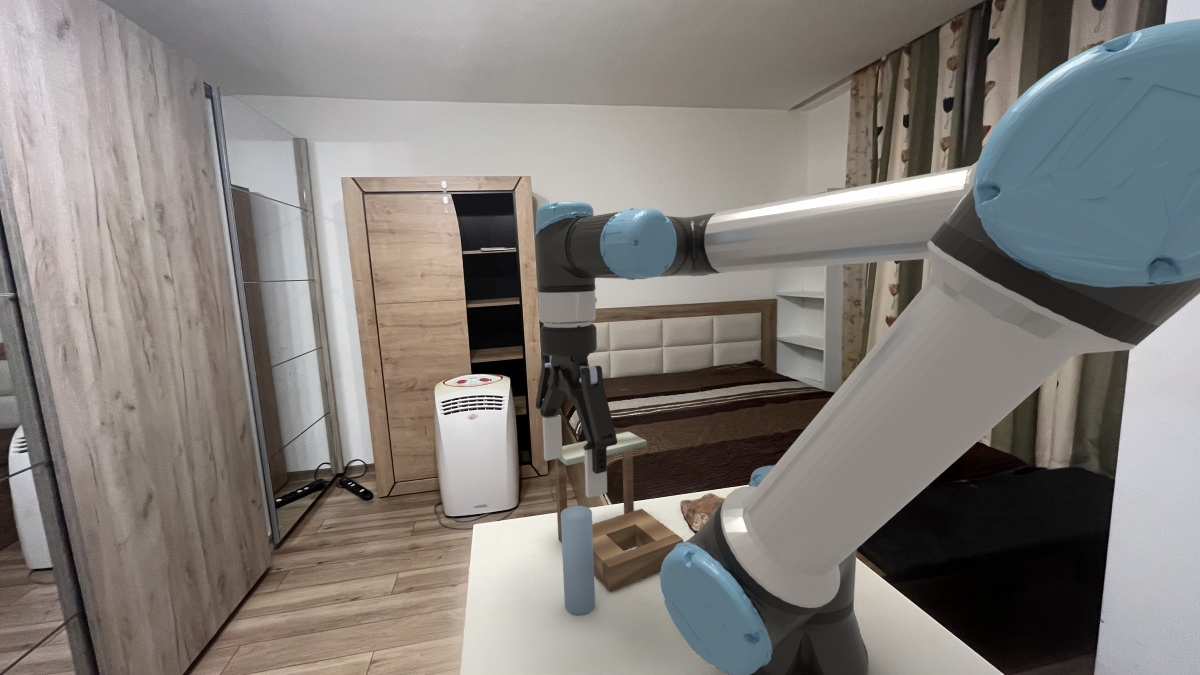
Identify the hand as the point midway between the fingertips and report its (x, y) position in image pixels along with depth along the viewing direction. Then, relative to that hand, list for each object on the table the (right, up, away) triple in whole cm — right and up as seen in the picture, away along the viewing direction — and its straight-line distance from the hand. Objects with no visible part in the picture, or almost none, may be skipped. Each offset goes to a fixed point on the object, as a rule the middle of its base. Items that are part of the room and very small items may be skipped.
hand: (573, 474), depth 66 cm
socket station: (+7, -17, +16) cm, 24 cm away
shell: (+26, -16, +25) cm, 39 cm away
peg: (+1, -19, +2) cm, 20 cm away
